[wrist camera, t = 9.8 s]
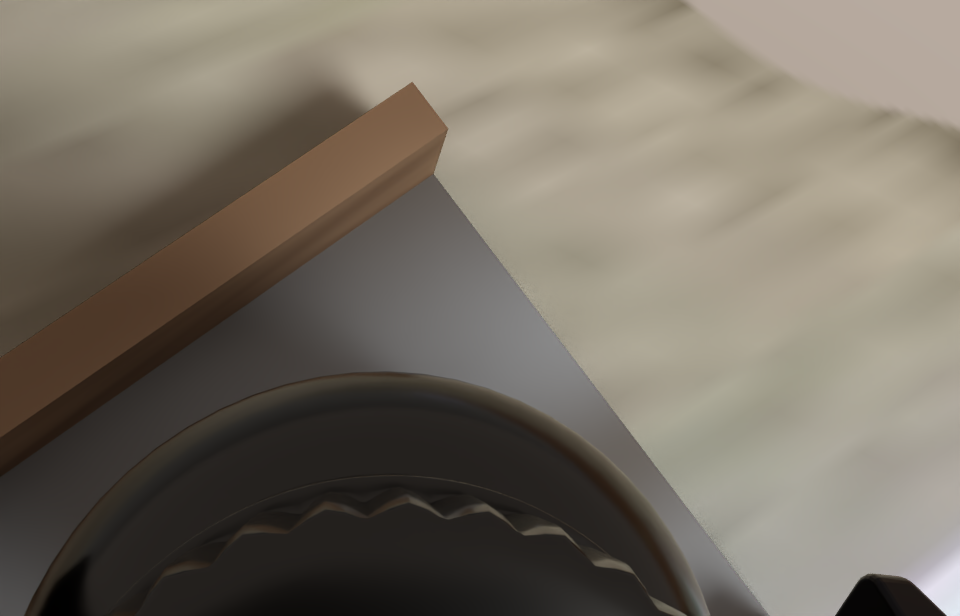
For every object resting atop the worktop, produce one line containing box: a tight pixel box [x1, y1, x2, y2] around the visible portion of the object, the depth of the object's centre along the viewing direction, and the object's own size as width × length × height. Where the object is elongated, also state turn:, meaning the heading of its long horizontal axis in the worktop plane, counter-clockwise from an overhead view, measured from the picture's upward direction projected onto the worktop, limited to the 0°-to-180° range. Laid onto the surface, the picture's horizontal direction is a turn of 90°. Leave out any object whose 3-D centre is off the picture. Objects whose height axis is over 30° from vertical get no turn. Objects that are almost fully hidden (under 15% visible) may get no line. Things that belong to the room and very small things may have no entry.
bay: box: [0, 82, 769, 616], centre depth 15 cm, size 13×12×3 cm
